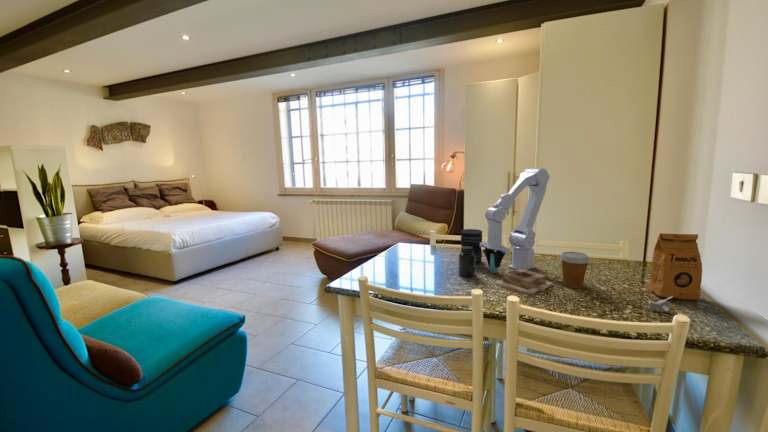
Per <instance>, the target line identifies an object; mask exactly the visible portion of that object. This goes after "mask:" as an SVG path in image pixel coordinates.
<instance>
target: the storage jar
mask: <svg viewBox="0 0 768 432" xmlns="http://www.w3.org/2000/svg"><path fill="white" fill-rule="evenodd" d="M481 242H483V231H482V230H480V229H475V228H467V229H466V228H465V229H461V230H460V243H461V247H462V246H471V247H473V253H474V254H475V266H478V265H481V264H482V258H483V254H482V253H483V250H482V247H480V243H481ZM461 247H460V248H461ZM460 253H462V252H461V251H460Z"/></svg>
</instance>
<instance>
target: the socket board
mask: <svg viewBox="0 0 768 432" xmlns="http://www.w3.org/2000/svg"><path fill="white" fill-rule="evenodd" d="M494 284H495V285H497V286H500V287H503V288H506V289H507V290H511V291H514V292H517V293H520V294H523V295H525V296H529V295H531V294H535V293H537V292H540V291H543V290H546V289H548V288H550V287H553V286H554V282H550V281H548V280H547V275H545V274H542V273H538V272H535V271H532V270H529V269H528V270H525V269H518V270H517V269H514V270H511V271H508V272H504V273H502V279H499V280H495V281H494Z"/></svg>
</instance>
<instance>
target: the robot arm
mask: <svg viewBox="0 0 768 432" xmlns="http://www.w3.org/2000/svg"><path fill="white" fill-rule="evenodd" d="M549 179H550V174H549V173H548V170H547V169H546V168H543V167H541V168H530V167H527V168H524V169H523V170H522V171H521V172H520V174H519V178H518V179H517V181H516V182H515V183H514V185H513V186H512V187H511V188H510V190H509V191H508V193H502V194H501V195H500V196H499V197H500V198H499V199H498V200H497V201H496V202H495V203H493V206H491V207H488V209H486V212H485V213H484V217H485V219H486V220H487V221H486V222H487V242H483V241H482V242H481V243H480V247H481V248H483V250H482V253H483V254H484V256H485V258H486V261H487V264H488V265H487V266H488V267H490V253H493V254H494V258H495V268H498V269H499V268H500V267H501V263H502V261H503V258H504V257H505V255H506V254H507V255H509V254H511V264H509V265H507V267H508V268H510V269H511V268H512V269H514V270H518V269H525V270H528V271H529V270H532V269H534V268H536V267H537V265H535V255H536V253H535V250H534V248H533V247H534V245H535V242H536V241H535V240H536V239H535V238H536V232H535V231H534V229H533V228H534V225H535V222H536V220H537V217H538V214H539V212H540V210H541V209H540V208H541V206H542V203H543V201H544V198H545V194H546V192H547V185H548V183H549ZM527 187H528V188H529V190H530V194H529V196H528V197H529V198H528V200H527V203H526V206H525V209H524V211H523V214H522V217H521V219H520V222H519V225H517V226H515V227H514V228H513V229H512V232H511V233H510V235H509V237H508V242H509V244H510V245H511V247H512V250H511V248H509V247H506V246H504V245H502V242H503V241H502V240H503V238H502V237H503V221H504V220H505V219H506V217H507V213H508V212H509V210H510V209H511V207H512V206H513V205H514V204H515V202H516V197H517V196H519V195H520V193H522V192H523V191H524V189H526V188H527ZM511 252H512V253H511Z"/></svg>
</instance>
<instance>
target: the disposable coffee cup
mask: <svg viewBox="0 0 768 432" xmlns="http://www.w3.org/2000/svg"><path fill="white" fill-rule="evenodd" d="M559 258H560V261H561V269H562V283H563V286H564V287H567V288H570V289H582V288H583V285H584V281H585V276H586V272H587V266H588V263H589V261H590V258H589V256H588V254H586V253H583V252H578V251H563V252H562V253H561V255H560V256H559Z"/></svg>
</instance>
